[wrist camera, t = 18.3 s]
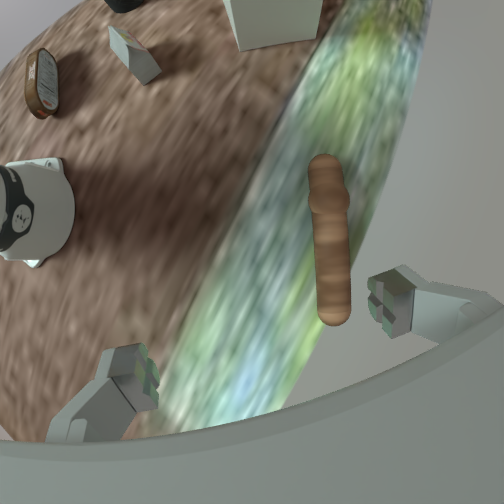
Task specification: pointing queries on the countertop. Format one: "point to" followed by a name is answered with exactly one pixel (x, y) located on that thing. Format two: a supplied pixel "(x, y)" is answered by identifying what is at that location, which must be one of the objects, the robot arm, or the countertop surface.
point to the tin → (41, 84)
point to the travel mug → (123, 5)
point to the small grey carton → (133, 55)
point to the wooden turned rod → (330, 239)
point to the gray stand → (272, 21)
